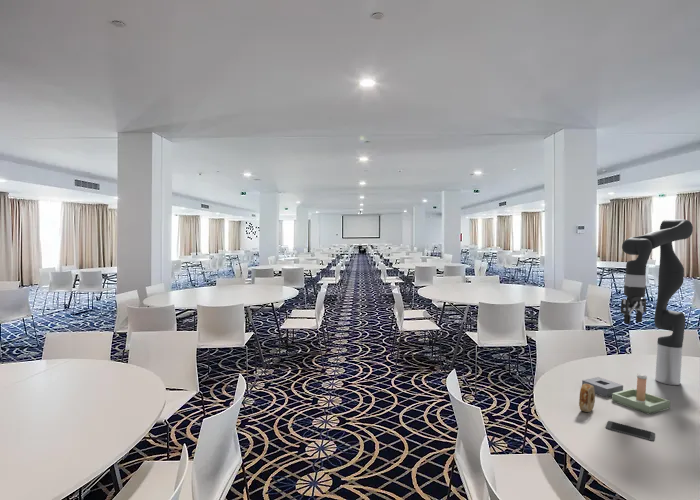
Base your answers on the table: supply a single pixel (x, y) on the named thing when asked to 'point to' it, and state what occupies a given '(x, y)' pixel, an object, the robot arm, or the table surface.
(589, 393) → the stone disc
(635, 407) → the parts tray
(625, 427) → the cell phone
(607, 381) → the grey flat square piece
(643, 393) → the peg
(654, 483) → the table surface
